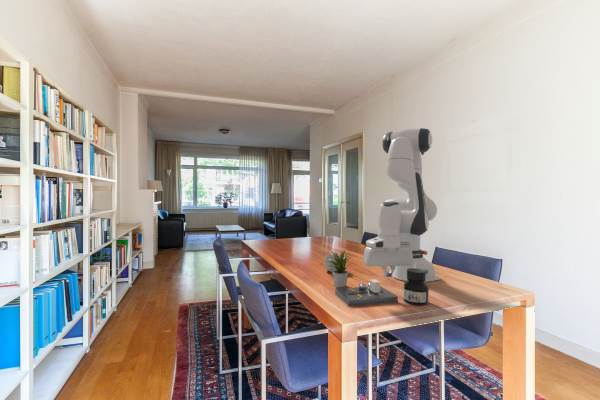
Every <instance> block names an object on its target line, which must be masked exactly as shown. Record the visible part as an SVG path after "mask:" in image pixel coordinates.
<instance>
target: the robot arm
mask: <svg viewBox="0 0 600 400" xmlns="http://www.w3.org/2000/svg"><path fill="white" fill-rule="evenodd" d="M432 144H433V136H432V133H431V130H429V128H425V127H424V128H406V129H402V130H397V131H396V130H395V131H389V132H386V133H385V134H384V135H383V136H382V141H381V145H382V150H383V151H384V152H385V153H386V154H387V159H386V174H387V176H388V177H389V178H390V180H393V181H394V182H396V183H397V186H398V187H399V188H400V189H401V190H402V191H405V192H406V193H407V194H408V197H406V198H405V197H395V198H388V199H386V200H385V201H384V202H382V203H380V205H379V209H378V217H377V221H378V222H377V224H378V231H377V236H376V237H374V238H373V237H372V238H369V239H368V240H366V241H365V245H366V247H365V248H364V252H363V263H364V265H365V266H366V267H380V268H381V270H382V272H383V277H384V278H393V279H396V280H400V281H404V282H406V281H407V269H409V268H417V269H423V270H425V271H426V281H425V282H426V283H427V282H433V281H439V280H442V279H441V276H440V275H438V274H437V273H436V268H435V266H434V265H433V263H431V262H430V261H429V260H427V259H426V257H424V256H427V255H428V251H427V250H422V249H421V236H422V235H424V234H426V233H427V231H428V228H429V225H430V223H429V221H433V220H434V219H435V217H436V216H437V213H438V208H437V205H436V203H435V201H434V200H433V199H431V198H430V196H428V195H427V194H426V192H425V190H424V185H423V175H422V173H423V162H422V160H423V159H422V156H424V155H425V153H426V152H428V151H429V150H430V148H431V147H432ZM388 267H389V271H388V270H387V269H388Z"/></svg>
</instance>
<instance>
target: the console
mask: <svg viewBox="0 0 600 400" xmlns="http://www.w3.org/2000/svg"><path fill="white" fill-rule="evenodd" d="M334 292H335V293H334V294H335V295H336V297H338V298H339V299H340V300H341V301H343V302H344V303H345V304H346V305H347V307H354V306H355V307H356V306H364V305H365V306H366V305H368V306H369V305H376V304H377V305H378V304H379V305H380V304H391V303H398V302H399V298H398V297H399V296H397V295H396V294H394V293H392V292H391V291H389V290H388V289H386V288H385V287H383V286H382V285H380V292H378V293H374V292H372V291H371V290H370V282H368V283H367V286H366V283H364V282H360V283H359V284H358V287H338V288H335V290H334Z"/></svg>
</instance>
